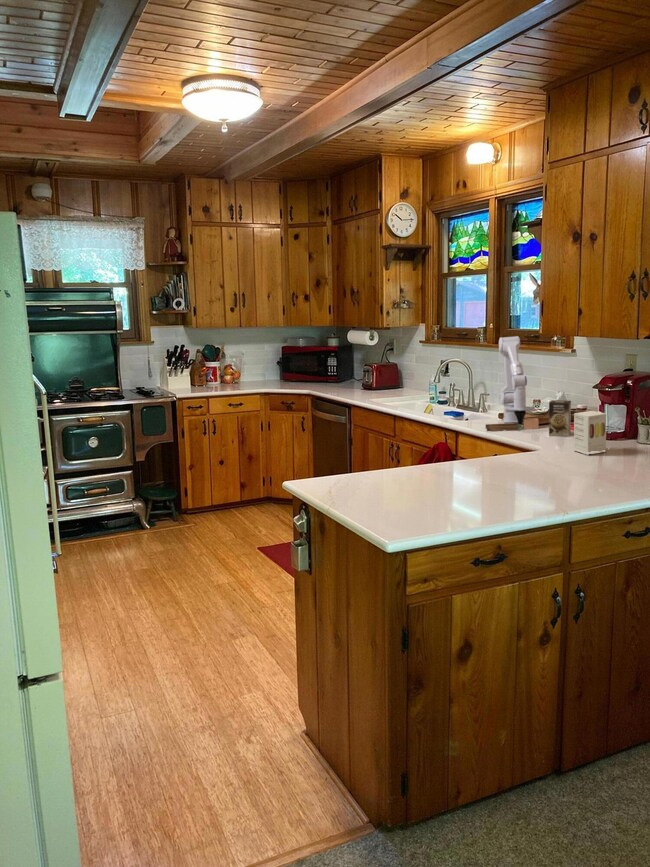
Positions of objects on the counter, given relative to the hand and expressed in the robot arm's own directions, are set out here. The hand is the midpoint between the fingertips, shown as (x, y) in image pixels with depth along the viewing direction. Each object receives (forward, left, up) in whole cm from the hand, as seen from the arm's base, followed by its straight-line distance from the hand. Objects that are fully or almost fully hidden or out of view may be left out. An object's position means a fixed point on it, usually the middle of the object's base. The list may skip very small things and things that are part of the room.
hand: (520, 425), depth 348 cm
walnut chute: (0, -8, -1) cm, 8 cm away
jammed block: (0, +5, -1) cm, 5 cm away
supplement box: (+52, +22, -2) cm, 56 cm away
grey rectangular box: (+18, +16, -2) cm, 24 cm away
